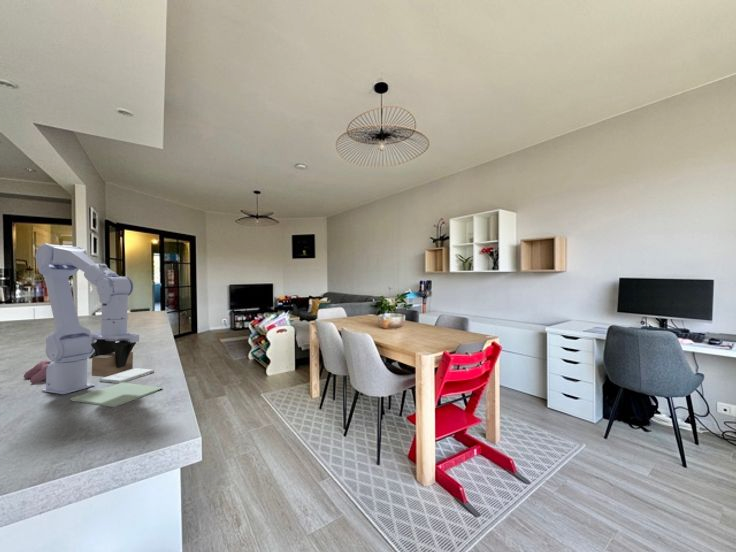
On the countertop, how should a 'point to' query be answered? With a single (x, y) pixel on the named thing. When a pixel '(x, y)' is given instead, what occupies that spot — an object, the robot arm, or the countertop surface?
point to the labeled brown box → (109, 365)
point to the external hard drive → (126, 375)
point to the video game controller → (37, 372)
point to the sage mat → (116, 394)
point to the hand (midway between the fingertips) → (113, 366)
